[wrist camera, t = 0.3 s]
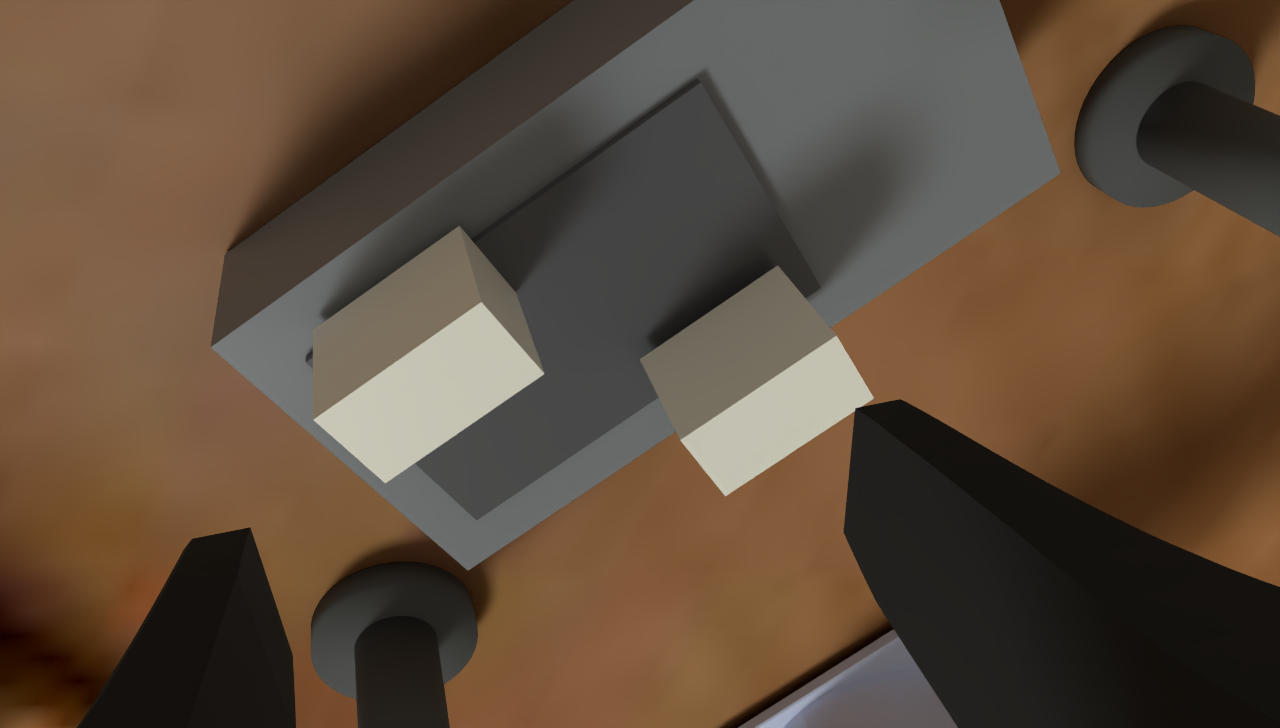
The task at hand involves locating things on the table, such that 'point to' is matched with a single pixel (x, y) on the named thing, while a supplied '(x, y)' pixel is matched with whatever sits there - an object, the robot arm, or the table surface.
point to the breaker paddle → (754, 380)
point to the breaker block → (614, 232)
